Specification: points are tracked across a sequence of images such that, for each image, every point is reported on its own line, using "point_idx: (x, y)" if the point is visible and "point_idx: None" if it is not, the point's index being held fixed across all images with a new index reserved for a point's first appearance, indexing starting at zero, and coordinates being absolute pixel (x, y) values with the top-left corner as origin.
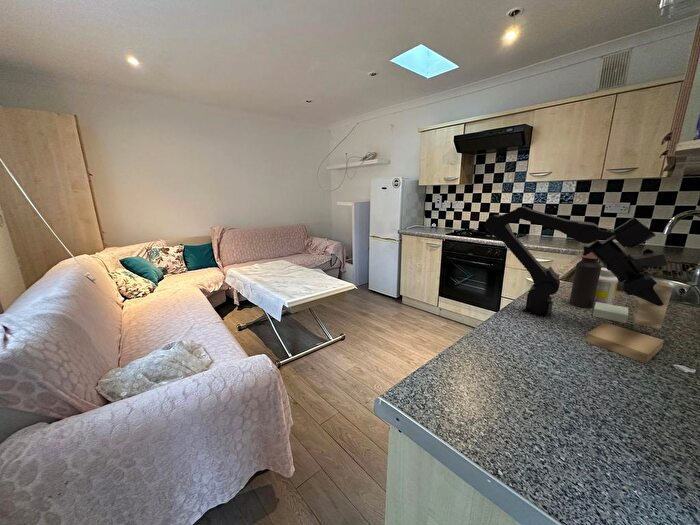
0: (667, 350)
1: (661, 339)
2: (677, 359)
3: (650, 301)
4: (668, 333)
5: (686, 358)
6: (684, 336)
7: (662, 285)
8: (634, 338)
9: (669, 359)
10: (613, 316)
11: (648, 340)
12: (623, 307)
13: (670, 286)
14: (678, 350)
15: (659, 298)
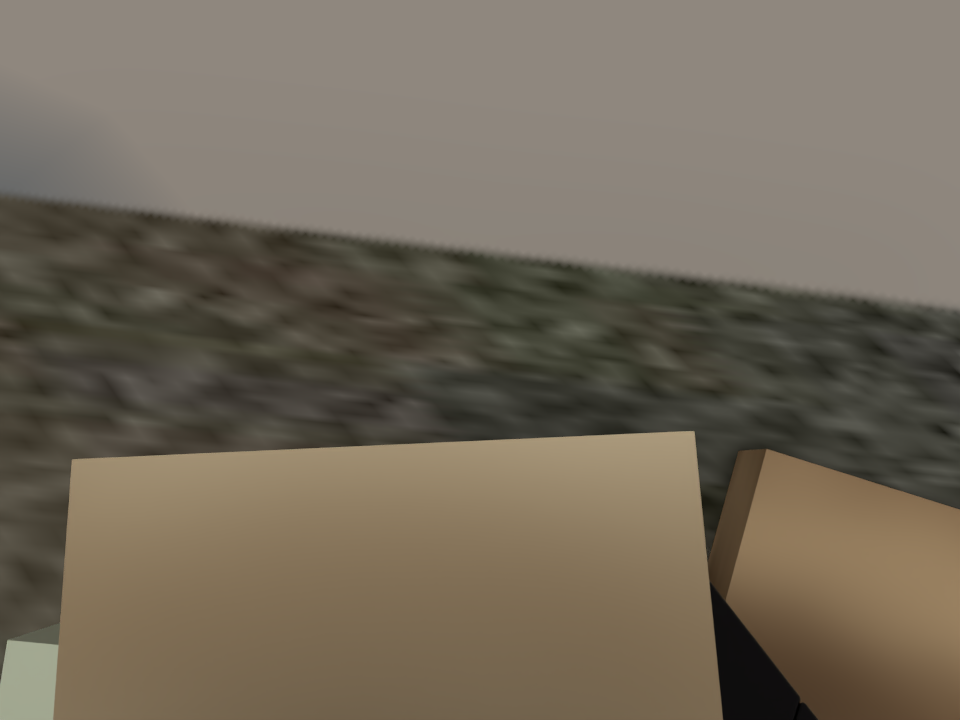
0: (741, 418)
1: (762, 465)
2: (878, 381)
3: None
4: (347, 370)
5: (807, 328)
6: (343, 284)
7: (684, 694)
8: (922, 674)
9: (925, 428)
10: None
11: (884, 567)
12: (18, 681)
13: (649, 484)
14: (681, 354)
15: (729, 607)
